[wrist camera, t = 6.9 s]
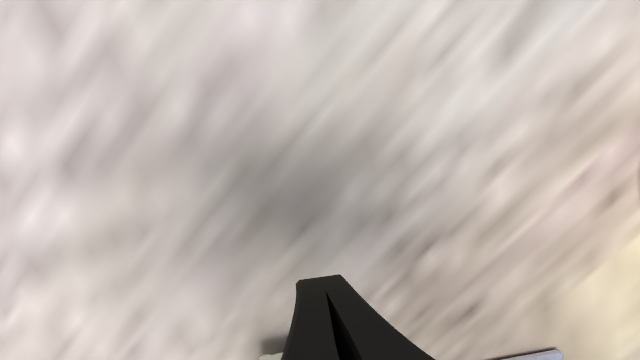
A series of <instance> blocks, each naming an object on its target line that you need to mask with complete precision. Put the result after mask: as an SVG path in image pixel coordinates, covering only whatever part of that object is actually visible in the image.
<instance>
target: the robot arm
mask: <svg viewBox="0 0 640 360" xmlns="http://www.w3.org/2000/svg"><path fill="white" fill-rule="evenodd" d="M281 360H435V359H433V358H432V357H431V356H429V355H428V354H426V353H425V352H424V351H422V350H421V349H420V348H418V347H417V346H416V345H414V344H413V343H412V342H411V341H409V340H408V339H407V338H406V337H405V336H403V335H402V334H401V333H400V332H399V331H397V330H396V329H395V328H394V327H393V326H392V325H390V324H389V323H388V322H387V321H386V320H385V319H384V318H383V317H382V316H381V315H379V314H378V313H377V312H376V311H375V310H374V309H373V308H372V307H371V306H370V305H369V304H368V303H367V302H366V301H365V300H364V299H363V298H362V297H361V296H360V295H359V294H358V293H357V292H356V291H355V290H354V289H353V288H352V287H351V285H350V284H349V283H348V282H347V281H346V280H345V279H344V278H343V277H342V276H341V275H333V276H325V277H318V278H311V279H304V280H299V281H298V282H297V283H296V303H295V309H294V314H293V319H292V323H291V327H290V331H289V335H288V338H287V342H286V345H285V348H284V351H283V354H282V357H281ZM502 360H563V354H562V353H561V352H560V351H559V350H550V351H545V352H540V353H534V354H529V355H523V356H518V357H513V358H507V359H502Z"/></svg>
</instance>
